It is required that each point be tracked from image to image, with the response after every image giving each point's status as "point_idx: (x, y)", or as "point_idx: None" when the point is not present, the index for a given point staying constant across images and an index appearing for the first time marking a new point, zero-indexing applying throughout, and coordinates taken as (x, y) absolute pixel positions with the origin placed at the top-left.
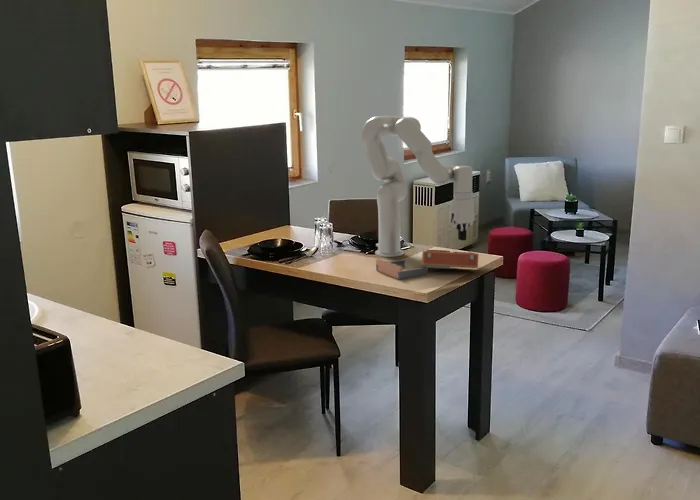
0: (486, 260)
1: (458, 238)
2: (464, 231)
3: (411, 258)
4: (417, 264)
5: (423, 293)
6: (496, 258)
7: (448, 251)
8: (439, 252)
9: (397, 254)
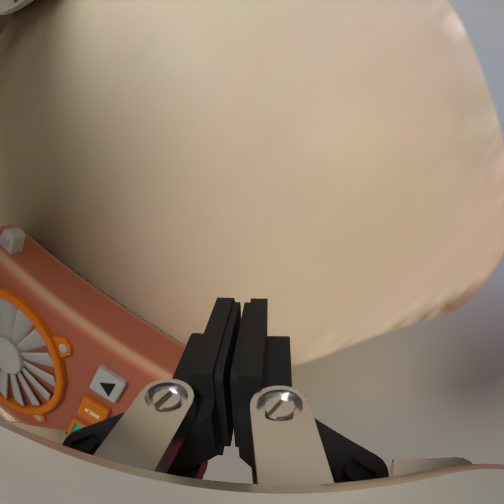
0: (418, 282)
1: (216, 304)
2: (236, 443)
3: (78, 11)
4: (32, 148)
5: (3, 417)
6: (481, 275)
7: (39, 420)
8: (2, 406)
9: (16, 6)
